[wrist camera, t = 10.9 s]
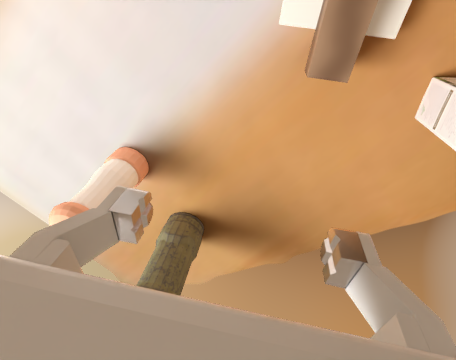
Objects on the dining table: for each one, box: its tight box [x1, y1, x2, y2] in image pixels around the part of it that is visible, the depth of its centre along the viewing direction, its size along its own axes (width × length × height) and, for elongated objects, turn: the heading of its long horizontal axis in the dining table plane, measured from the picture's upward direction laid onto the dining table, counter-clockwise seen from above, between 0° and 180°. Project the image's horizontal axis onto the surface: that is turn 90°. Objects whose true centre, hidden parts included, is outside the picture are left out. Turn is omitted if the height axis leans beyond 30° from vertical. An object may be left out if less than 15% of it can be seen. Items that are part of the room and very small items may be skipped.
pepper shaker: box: [49, 147, 149, 226], centre depth 40 cm, size 7×7×19 cm
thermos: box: [137, 212, 204, 296], centre depth 42 cm, size 9×12×35 cm
